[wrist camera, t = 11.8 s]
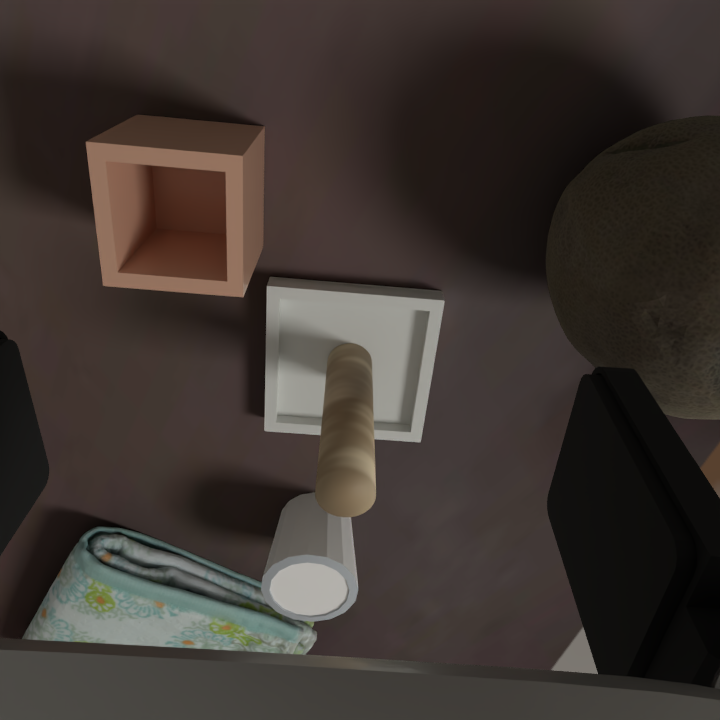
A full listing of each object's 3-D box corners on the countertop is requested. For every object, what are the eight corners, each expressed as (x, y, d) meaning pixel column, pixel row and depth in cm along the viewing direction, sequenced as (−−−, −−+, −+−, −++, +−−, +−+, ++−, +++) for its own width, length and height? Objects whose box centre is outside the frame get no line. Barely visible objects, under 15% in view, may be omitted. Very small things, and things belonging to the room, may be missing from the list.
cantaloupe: (492, 311, 41) (553, 455, 28) (558, 77, 34) (678, 127, 21) (698, 339, 42) (847, 491, 29) (802, 118, 35) (1059, 189, 22)
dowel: (374, 345, 42) (379, 473, 31) (369, 383, 43) (372, 519, 32) (328, 341, 42) (316, 468, 30) (326, 380, 43) (313, 515, 32)
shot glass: (372, 536, 51) (373, 608, 45) (295, 559, 53) (287, 632, 47) (337, 475, 48) (334, 544, 42) (257, 502, 50) (242, 572, 44)
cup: (264, 126, 36) (242, 155, 29) (263, 246, 39) (243, 297, 33) (137, 114, 35) (85, 141, 29) (147, 236, 39) (103, 285, 32)
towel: (233, 705, 64) (224, 758, 59) (25, 631, 58) (-3, 683, 54) (326, 601, 56) (322, 653, 51) (95, 504, 50) (70, 553, 46)
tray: (442, 290, 41) (444, 300, 39) (419, 429, 46) (420, 442, 45) (269, 276, 40) (266, 285, 39) (267, 418, 46) (264, 430, 44)
